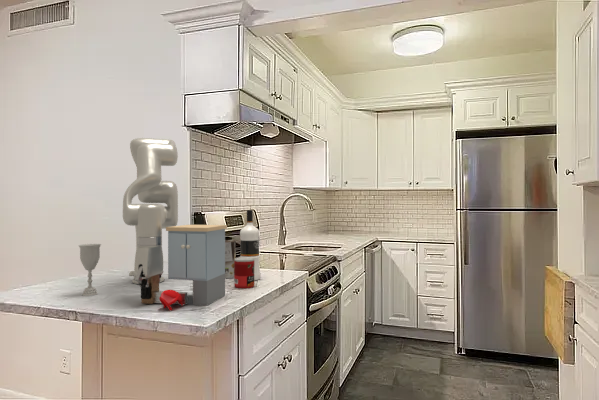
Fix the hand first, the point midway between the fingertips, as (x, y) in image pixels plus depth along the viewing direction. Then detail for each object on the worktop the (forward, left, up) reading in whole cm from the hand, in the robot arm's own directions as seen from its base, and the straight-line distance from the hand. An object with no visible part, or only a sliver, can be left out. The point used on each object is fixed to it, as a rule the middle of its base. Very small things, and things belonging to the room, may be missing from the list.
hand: (150, 296), depth 132 cm
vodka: (+18, +45, -2) cm, 49 cm away
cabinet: (+13, +8, -2) cm, 15 cm away
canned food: (+21, +31, -2) cm, 38 cm away
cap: (+11, -4, -2) cm, 12 cm away
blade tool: (+6, 0, -2) cm, 6 cm away
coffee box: (+6, +49, -2) cm, 49 cm away
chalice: (-29, +6, -2) cm, 30 cm away
